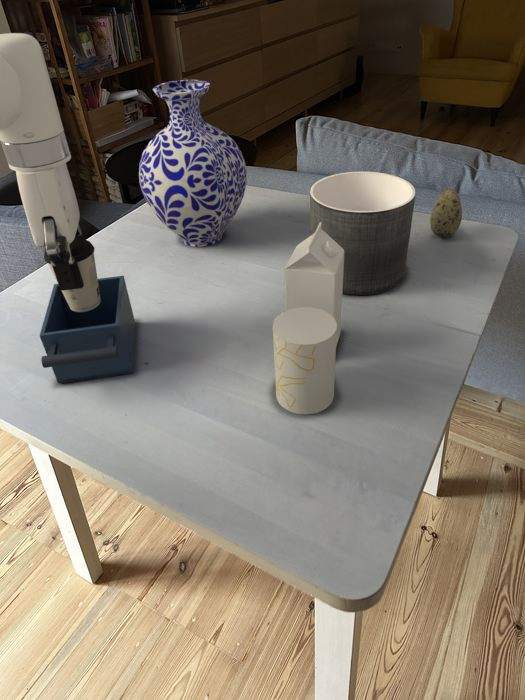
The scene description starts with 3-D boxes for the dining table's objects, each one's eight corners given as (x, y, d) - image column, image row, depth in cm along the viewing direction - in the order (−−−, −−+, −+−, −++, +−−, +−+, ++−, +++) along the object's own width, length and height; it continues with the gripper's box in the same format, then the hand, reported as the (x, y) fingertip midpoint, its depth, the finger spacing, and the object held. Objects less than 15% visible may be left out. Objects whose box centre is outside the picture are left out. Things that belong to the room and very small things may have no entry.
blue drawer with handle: (131, 392, 78) (117, 343, 72) (53, 403, 77) (33, 354, 71) (134, 320, 92) (123, 275, 86) (69, 329, 91) (53, 284, 85)
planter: (315, 299, 94) (316, 215, 85) (305, 251, 108) (305, 174, 99) (415, 292, 94) (428, 208, 85) (393, 245, 108) (401, 168, 98)
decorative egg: (431, 228, 113) (438, 182, 107) (460, 232, 111) (469, 185, 105) (424, 240, 109) (431, 193, 103) (455, 245, 107) (463, 197, 101)
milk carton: (286, 354, 83) (283, 242, 71) (298, 327, 88) (296, 219, 76) (332, 360, 81) (336, 247, 69) (340, 333, 86) (346, 223, 74)
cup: (264, 392, 76) (259, 324, 69) (305, 367, 80) (305, 300, 73) (303, 423, 71) (303, 353, 64) (346, 394, 75) (350, 325, 68)
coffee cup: (118, 298, 81) (102, 238, 75) (83, 321, 77) (63, 259, 71) (87, 286, 84) (69, 228, 78) (51, 308, 80) (29, 248, 74)
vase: (132, 238, 117) (99, 90, 98) (210, 207, 128) (193, 68, 109) (190, 272, 104) (165, 109, 85) (271, 235, 115) (264, 82, 96)
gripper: (19, 132, 73) (57, 250, 84) (-11, 178, 59) (39, 311, 70) (75, 126, 73) (106, 244, 85) (58, 170, 60) (97, 303, 71)
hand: (75, 273), depth 77 cm, fingers closed on coffee cup, 7 cm apart
